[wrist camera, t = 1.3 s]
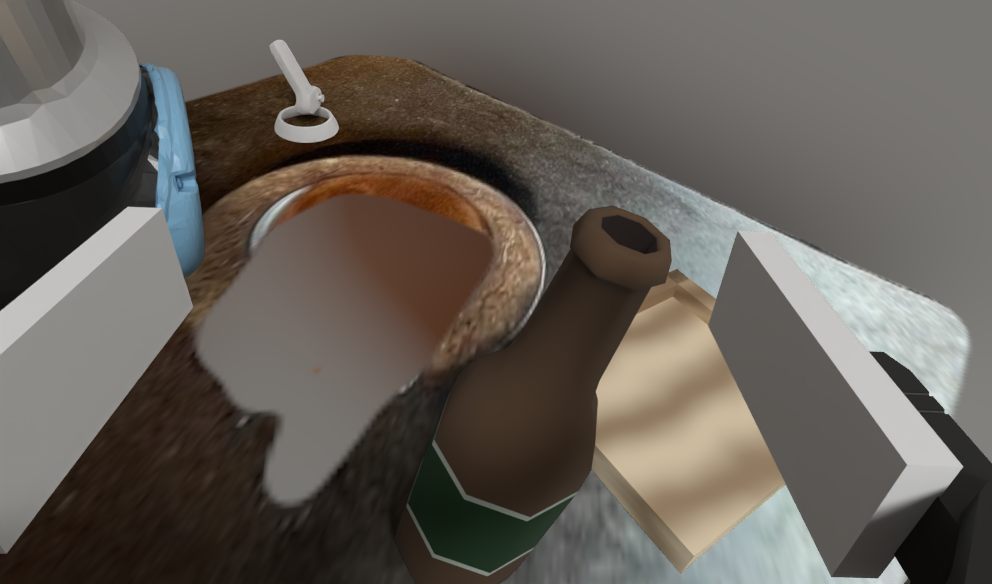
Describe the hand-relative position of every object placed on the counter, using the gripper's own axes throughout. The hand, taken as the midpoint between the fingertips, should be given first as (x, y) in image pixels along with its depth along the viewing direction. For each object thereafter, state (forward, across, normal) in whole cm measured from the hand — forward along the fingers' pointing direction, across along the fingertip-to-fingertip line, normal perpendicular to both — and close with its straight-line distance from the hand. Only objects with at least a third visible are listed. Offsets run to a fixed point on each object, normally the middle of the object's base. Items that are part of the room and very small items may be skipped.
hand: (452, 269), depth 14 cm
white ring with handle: (+59, -22, -17) cm, 65 cm away
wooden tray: (+20, +16, -25) cm, 36 cm away
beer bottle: (+9, 0, -25) cm, 27 cm away
